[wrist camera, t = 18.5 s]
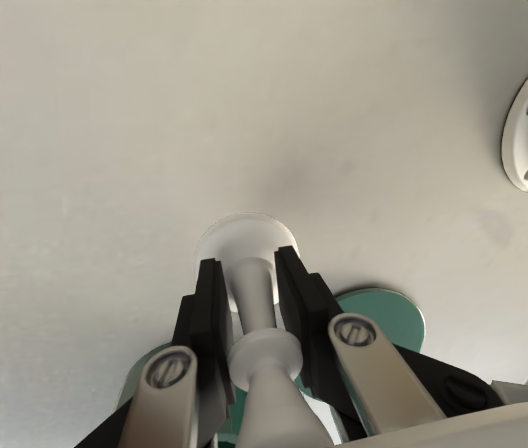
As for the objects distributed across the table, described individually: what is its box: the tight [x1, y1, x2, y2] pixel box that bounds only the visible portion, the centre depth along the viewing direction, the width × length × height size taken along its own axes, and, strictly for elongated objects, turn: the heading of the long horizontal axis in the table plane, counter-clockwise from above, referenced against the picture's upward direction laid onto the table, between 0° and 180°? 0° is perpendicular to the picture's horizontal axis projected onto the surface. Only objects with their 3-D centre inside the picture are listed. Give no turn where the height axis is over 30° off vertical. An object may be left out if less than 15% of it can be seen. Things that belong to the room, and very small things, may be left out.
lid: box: [294, 288, 425, 402], centre depth 25 cm, size 15×15×6 cm
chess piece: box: [194, 213, 334, 448], centre depth 8 cm, size 5×5×10 cm
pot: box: [111, 342, 248, 448], centre depth 22 cm, size 14×14×8 cm
